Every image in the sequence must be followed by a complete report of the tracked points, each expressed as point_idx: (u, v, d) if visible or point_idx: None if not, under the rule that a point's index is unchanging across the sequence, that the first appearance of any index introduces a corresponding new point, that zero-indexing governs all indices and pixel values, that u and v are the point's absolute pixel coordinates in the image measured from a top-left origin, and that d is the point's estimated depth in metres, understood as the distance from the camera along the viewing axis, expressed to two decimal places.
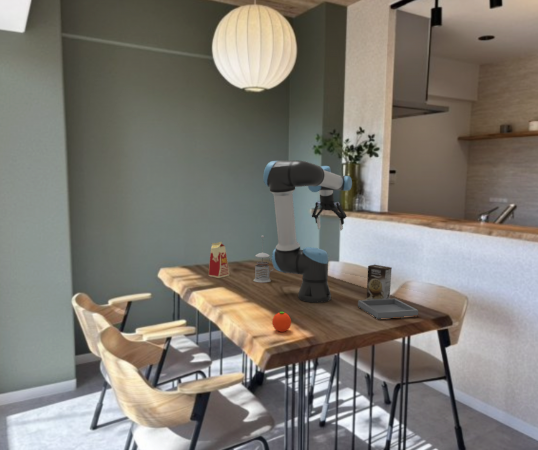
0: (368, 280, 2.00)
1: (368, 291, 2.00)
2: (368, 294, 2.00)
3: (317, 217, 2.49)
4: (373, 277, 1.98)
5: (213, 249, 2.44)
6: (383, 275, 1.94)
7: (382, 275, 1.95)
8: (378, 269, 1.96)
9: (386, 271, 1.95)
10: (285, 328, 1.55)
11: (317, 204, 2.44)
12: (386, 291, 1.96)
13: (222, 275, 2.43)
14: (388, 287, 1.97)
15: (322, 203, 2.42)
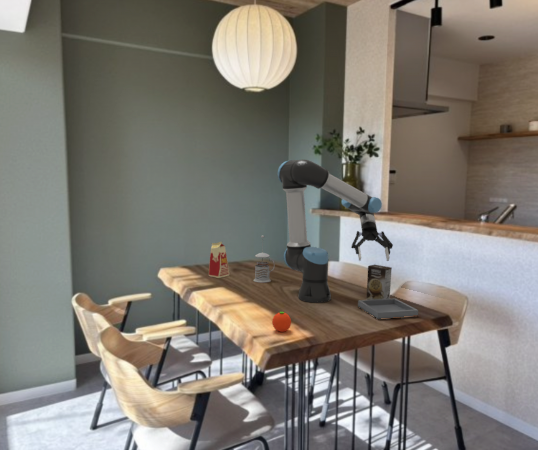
0: (368, 280, 2.00)
1: (368, 291, 2.00)
2: (368, 294, 2.00)
3: None
4: (373, 277, 1.98)
5: (213, 249, 2.44)
6: (383, 275, 1.94)
7: (382, 275, 1.95)
8: (378, 269, 1.96)
9: (386, 271, 1.95)
10: (285, 328, 1.55)
11: (359, 233, 2.18)
12: (386, 291, 1.96)
13: (222, 275, 2.43)
14: (388, 287, 1.97)
15: (365, 232, 2.19)
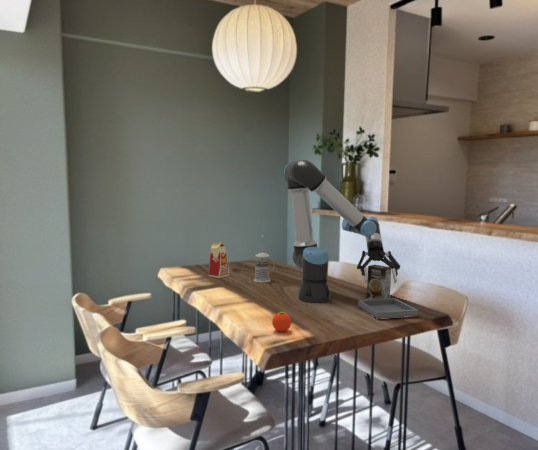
0: (368, 280, 1.99)
1: (368, 291, 2.00)
2: (368, 294, 2.00)
3: None
4: (373, 277, 1.97)
5: (213, 249, 2.44)
6: (383, 275, 1.94)
7: (382, 275, 1.95)
8: (378, 269, 1.96)
9: (387, 271, 1.95)
10: (285, 328, 1.55)
11: (365, 252, 2.09)
12: (386, 291, 1.96)
13: (222, 275, 2.43)
14: (388, 287, 1.97)
15: (371, 251, 2.09)
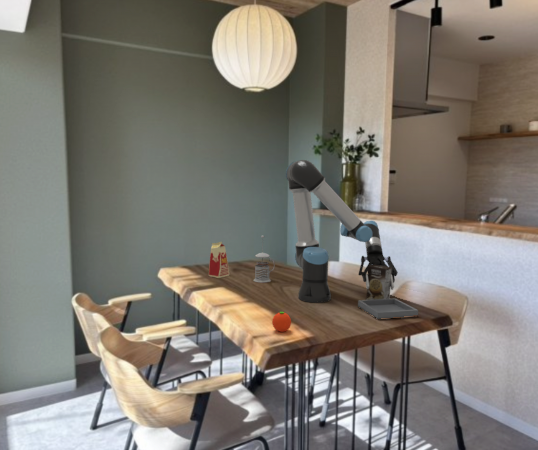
0: (368, 280, 1.99)
1: (368, 291, 2.00)
2: (368, 294, 2.00)
3: None
4: (373, 277, 1.97)
5: (213, 249, 2.44)
6: (383, 275, 1.94)
7: (382, 275, 1.95)
8: (378, 269, 1.96)
9: (387, 271, 1.95)
10: (285, 328, 1.55)
11: (364, 257, 2.06)
12: (386, 291, 1.96)
13: (222, 275, 2.43)
14: (388, 287, 1.97)
15: (370, 256, 2.07)
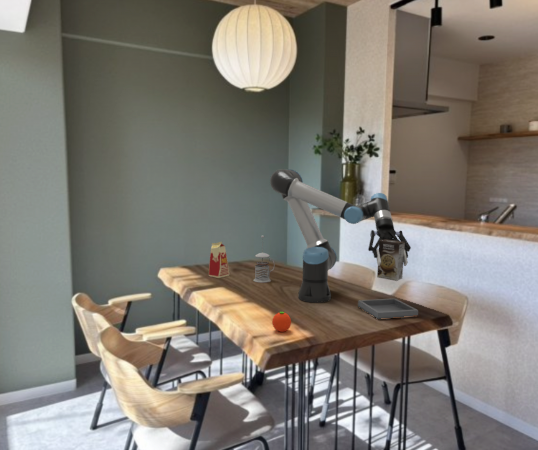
0: None
1: (379, 268, 1.84)
2: (379, 271, 1.84)
3: None
4: (385, 252, 1.81)
5: (213, 249, 2.44)
6: (397, 250, 1.78)
7: (395, 250, 1.78)
8: (391, 244, 1.79)
9: (400, 245, 1.79)
10: (285, 328, 1.55)
11: (374, 232, 1.89)
12: (399, 268, 1.80)
13: (222, 275, 2.43)
14: (401, 263, 1.81)
15: (380, 230, 1.90)
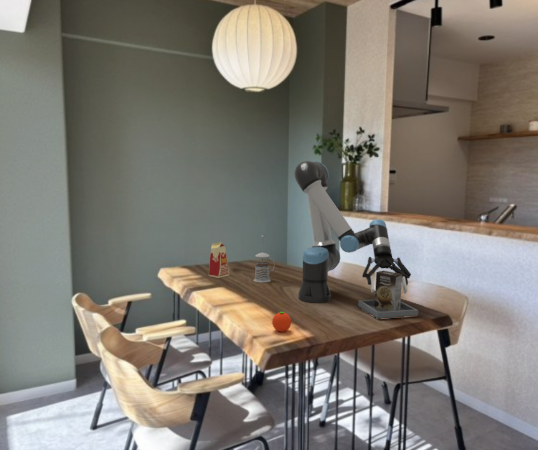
0: (376, 288, 1.82)
1: (376, 300, 1.83)
2: (377, 303, 1.83)
3: None
4: (382, 284, 1.80)
5: (213, 249, 2.44)
6: (393, 282, 1.77)
7: (392, 283, 1.77)
8: (387, 276, 1.78)
9: (397, 278, 1.77)
10: (285, 328, 1.55)
11: (371, 259, 1.88)
12: (396, 300, 1.79)
13: (222, 275, 2.43)
14: (398, 295, 1.80)
15: (378, 258, 1.89)
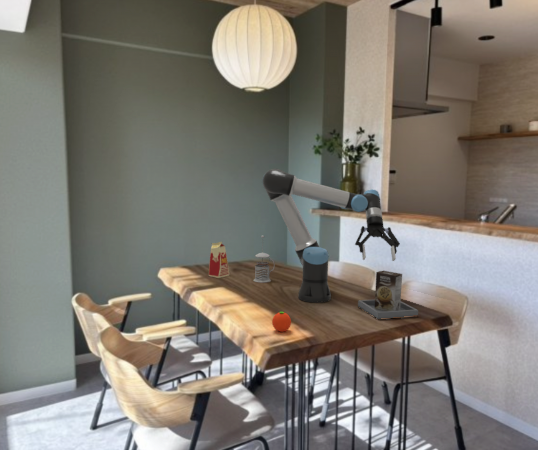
0: (376, 288, 1.82)
1: (376, 300, 1.83)
2: (377, 303, 1.83)
3: None
4: (382, 284, 1.80)
5: (213, 249, 2.44)
6: (393, 282, 1.77)
7: (392, 283, 1.77)
8: (387, 276, 1.78)
9: (397, 278, 1.77)
10: (285, 328, 1.55)
11: (364, 228, 2.02)
12: (396, 300, 1.79)
13: (222, 275, 2.43)
14: (398, 295, 1.80)
15: (370, 227, 2.03)
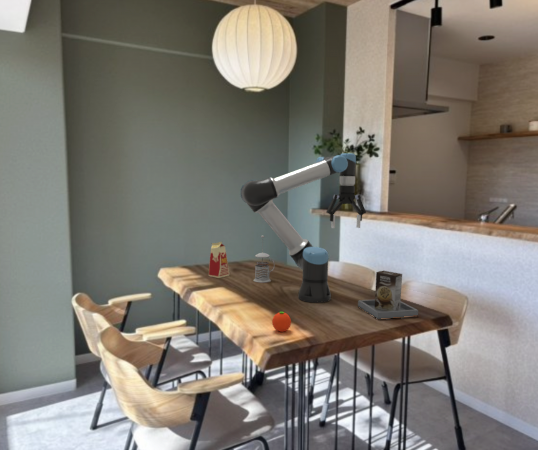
0: (376, 288, 1.82)
1: (376, 300, 1.83)
2: (377, 303, 1.83)
3: (332, 214, 2.13)
4: (382, 284, 1.80)
5: (213, 249, 2.44)
6: (393, 282, 1.77)
7: (392, 283, 1.77)
8: (387, 276, 1.78)
9: (397, 278, 1.77)
10: (285, 328, 1.55)
11: (336, 197, 2.12)
12: (396, 300, 1.79)
13: (222, 275, 2.43)
14: (398, 295, 1.80)
15: (343, 195, 2.12)
